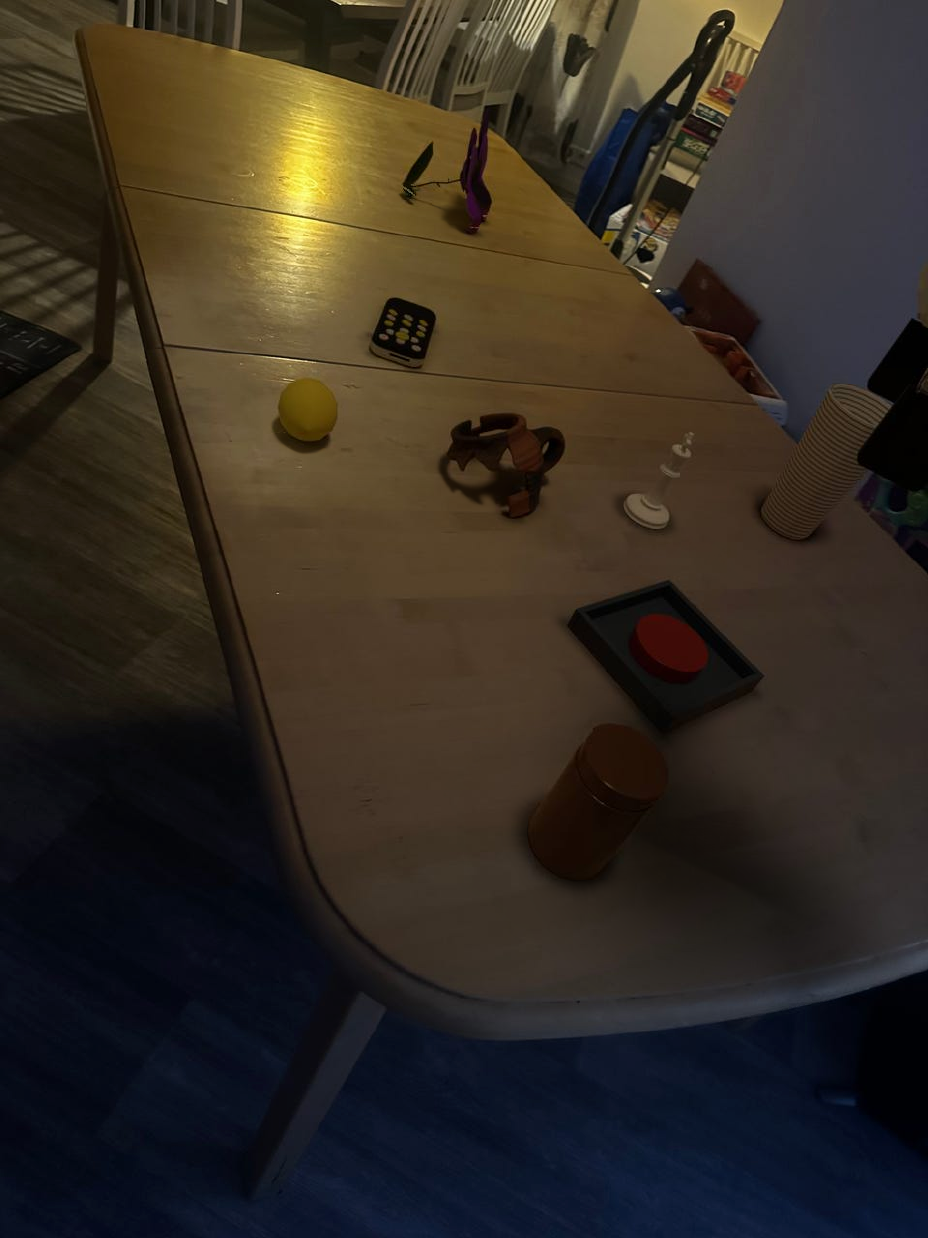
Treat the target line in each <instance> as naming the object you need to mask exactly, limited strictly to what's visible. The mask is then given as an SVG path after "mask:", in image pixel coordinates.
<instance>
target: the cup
mask: <svg viewBox="0 0 928 1238" xmlns="http://www.w3.org/2000/svg"><path fill="white" fill-rule="evenodd" d="M892 405H893V404H891V403H889V402H888V401H887V400H886V399H885V398H883V397H881V396H879V395H877V394H875V393H873V392H871V391H869V390H868V389H865V388H863V387H861V386H857V385H855V384H851V383H846V382H836V383H832V384H831V386H830V387H829V389H828V390H827V392H826V393H825V396H824V398H823V399H822V401H821V403H820V405H819V406H818V408H817V409H816V411H815V414H814V415H813V417H812V419H811V420H810V422H809V424H808V426H807V427H806V429H805V431H804V432H803V435H802V436H801V438H800V440H799V442H798V443H797V445H796V447H795V449H794V450H793V452H792V453H791V456H790V457H789V459H788V461H787V463H786V464H785V465H784V468H783V470H782V471H781V473H780V475H779V476H778V478H777V481H776V482H775V484H774V485H773V487H772V489H771V492H769V494H768V496H767V498H766V500H765V501H764V502H763V505H762V507H761V508H760V514H761V518H762V519H763V521H764V522H765V524H766V525H768V526H769V528H771V529H772V530H773V531H775V532H776V533H777V534H779V535H781V536H784V537H786V538H789V539H791V540H798V541H802V540H805V539H807V538H808V537H810V535H812V533H813V532H814V531H815V530H816V529H817V528H818V527H819V526H820V524H822V522H823V521H824V520H825V519H826V518H827V517H828V516H829V514H830V513H832V512H833V510H834V509H835V508H836V507H837V506H838V505H839V504H840V503H841V501H842V500H843V499H844V498H845V497H846V496H847V495H848V494H849V492H851V490H852V489H853V488H854V487H855V486H856V485H857V484H858V483H859V482H860V480H861V479H862V478H863V477H864V476H865V475H866V474H867V473H868V472H869V470H868V469H866V468H864V467H862V466H861V465H859V464H858V462H857V455H858V451H859V450H860V448H861V447H862V446H863V444H864V443H865V442H866V440H867V439H868V438H869V436H870V435H871V434H872V432H873V431H874V430H875V428H876V427H877V426H878V424H879V423H880V422H881V420H882V419H883V417H884V416H885V415H886V413H887V412H888V411H889V409H890V408H891V407H892Z"/></svg>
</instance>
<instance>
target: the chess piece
mask: <svg viewBox="0 0 928 1238" xmlns="http://www.w3.org/2000/svg"><path fill="white" fill-rule="evenodd" d="M694 436H695V434H694V432H691V431H689V432H688V433H685V434H684V436H683V442H682V444H673V445H672V447H671V449H670V455H669V459H668V462H662V464H661V465H660V466H659V468H660V470H661V472H662V474H661V475H660V477H659V478H658V480H657V481H656V482H655V483H654V485H653V486H652V488H650V490H649V491H648V492H647V493H632V494H629V496H627V498H626V499H625V500H624V502H623V509H624V512H625V513H626V515H627V516H628V517H629V518H630V519H631V520H632V521H634V522H635V523H637V524H638V525H640V526H642V527H644V528H647V529H652V530H661V529H664V528H665V527H667V525H668V522H669V520H670V513H669V511H668V509H667V507H666V505H664V504H663V500H664V497H665V494H666V492H667V489H668V487H669V484H670V482H671V481H672V479H678V478H680V476H681V469H679V467H681V466H682V465H683V464H684V463H685V462H686V461H688V460H689V459H690V458H691V456H692V452H691V451H690V448H691V446H692V440H693V438H694Z"/></svg>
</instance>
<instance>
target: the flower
mask: <svg viewBox="0 0 928 1238" xmlns="http://www.w3.org/2000/svg"><path fill="white" fill-rule="evenodd" d="M489 124H490V110H489V108H485V111H484V114H483V117H482V121H481V124H480V127H479V132H477V129H476V127H473V128H472V129H471V133H470V137H469V141H468V147H467V151H466V159H465V160H464V161H463V164H462V170H461V171H460V174H459V178H458V179H455V180H450V178H449V177H448V178H447V181H429V182H426V183H422V184H415V183H416V182H417V181H418V180H420V178H421V177H422V175H423V173H425V171H426V170H427V169H428V167H429V165H430V162H431V161H432V159H433V156H434V140H432V141H431V142H430V143H429V144H428V145H427V147H426V148H424V149H423V151H422V152H421V154H420V155H419V156H418V158H417V159H416V160H415V162H414V163H413V164H412V165H411V167H410V169H409V171H408V173H407V174H406V176H405V179H404V181H403V182H402V190H403V191H404V193H405V194H406V195H407V196H408V197H409V198H411V199H412V198H413V197H416V196H417V192H416V191H415V190H414V188H420V187H424V186H427V185H431V184H432V185H433V184H436V185H437V187H438V188H441V185H448V184H453V183H457V182H459V183H460V186H461V187H460V188H461V190H462V193H465V195H466V198H465V201H466V209H467V213H468V215H469V216H470V217H471V219H472V222H471V223H470V225H469V230H468V231H469V232H468V233H469V234H477V233H478V230H479V228H480V227H481V224H482V222H485V221H486V219H487V217H488V215H489V213H490V210H491V207H492V204H493V200H492V196H491V193H490V191H489V190H488V188H487V186H486V184H485V181H484V179H483V176H484V172H485V168H486V165H487V161H488V153H489V137H488V131H489ZM477 142H478V143H477ZM411 184H412V185H411ZM414 184H415V185H414ZM440 184H441V185H440ZM403 186H404V187H406V188H407V189H409V190H410V191H411V192H413V194H415V196H413V195H412V194H411V193H409V192H408V191H407V190H405V189H404V188H403ZM483 215H487V216H486V217H483ZM470 227H474V228H470ZM475 227H478V228H475Z"/></svg>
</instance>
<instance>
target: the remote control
mask: <svg viewBox="0 0 928 1238" xmlns="http://www.w3.org/2000/svg"><path fill="white" fill-rule="evenodd" d="M436 321H437V316H436V312H434V311H433V310H432V309H430V308H428V307H426V306H423V305H420V304H418V303H415V302H412V301H409V300H406V299H403V298H401V297H390V298H388V299H387V300H386V301H385V304H384V306H383V308H382V311H381V314H380V316H379V319H378V321H377V323H376V326H375V329H374V331H373V334H372V336H371V339H370V342H369V345H370V350H371V351H372V353H374V355H376V356H379V357H381V358H384V359H386V360H390V361H393V362H395V363H398V364H402V365H405V366H408V367H412V368H417V367H421V366H422V365H423V364H424V363H425V359H426V356H427V353H428V349H429V346H430V342H431V339H432V336H433V333H434V328H435V325H436Z"/></svg>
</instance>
